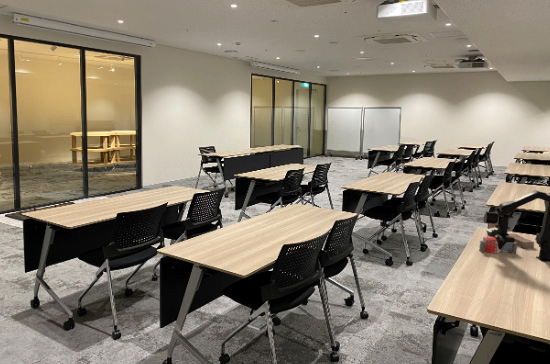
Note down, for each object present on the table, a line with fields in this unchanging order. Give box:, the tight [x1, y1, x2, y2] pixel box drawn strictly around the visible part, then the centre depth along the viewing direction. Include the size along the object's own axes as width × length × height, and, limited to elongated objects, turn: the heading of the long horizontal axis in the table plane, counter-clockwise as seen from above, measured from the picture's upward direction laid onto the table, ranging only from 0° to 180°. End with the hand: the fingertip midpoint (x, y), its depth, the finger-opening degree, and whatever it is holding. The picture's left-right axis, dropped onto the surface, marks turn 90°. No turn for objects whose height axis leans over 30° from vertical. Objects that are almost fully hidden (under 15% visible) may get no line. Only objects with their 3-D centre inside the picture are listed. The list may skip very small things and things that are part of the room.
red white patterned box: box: [484, 236, 502, 255], centre depth 261 cm, size 8×8×8 cm
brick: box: [508, 233, 535, 249], centre depth 277 cm, size 16×8×5 cm, turn 16°
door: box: [482, 236, 513, 254], centre depth 264 cm, size 3×16×6 cm, turn 52°
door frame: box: [478, 240, 518, 254], centre depth 260 cm, size 2×21×6 cm, turn 88°
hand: (499, 249), depth 254 cm, fingers closed
